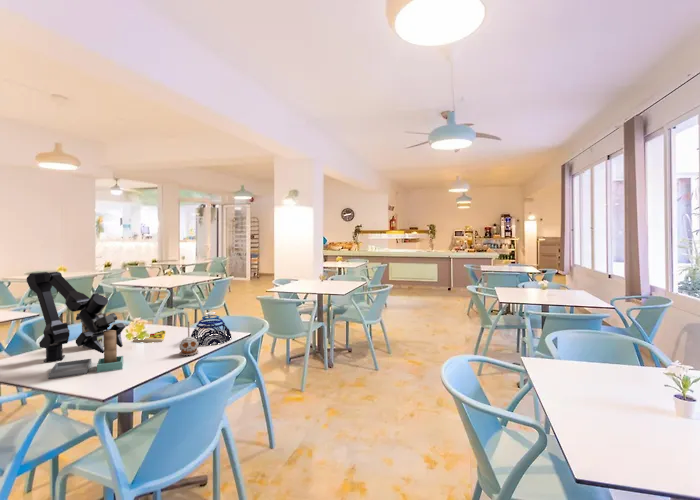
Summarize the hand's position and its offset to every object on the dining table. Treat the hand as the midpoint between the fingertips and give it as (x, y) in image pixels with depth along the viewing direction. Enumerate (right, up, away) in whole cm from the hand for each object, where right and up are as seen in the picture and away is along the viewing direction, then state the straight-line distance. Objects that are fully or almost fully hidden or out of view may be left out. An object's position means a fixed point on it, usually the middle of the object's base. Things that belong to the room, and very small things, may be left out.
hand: (112, 349), depth 157 cm
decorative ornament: (+23, -7, +19) cm, 31 cm away
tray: (-15, -8, -3) cm, 17 cm away
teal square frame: (-1, -8, +1) cm, 8 cm away
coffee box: (-27, -7, +30) cm, 41 cm away
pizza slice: (-6, -7, +47) cm, 48 cm away
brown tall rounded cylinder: (-1, -8, +1) cm, 8 cm away
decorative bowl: (+25, -6, +42) cm, 49 cm away
